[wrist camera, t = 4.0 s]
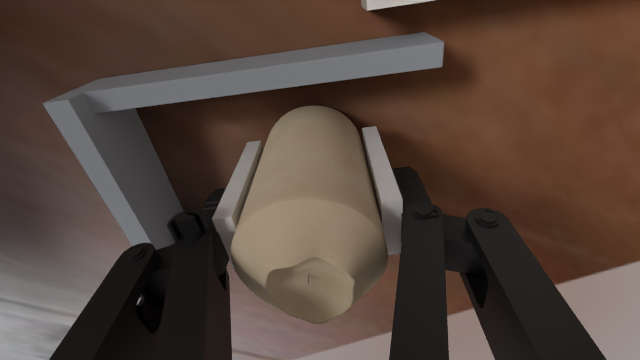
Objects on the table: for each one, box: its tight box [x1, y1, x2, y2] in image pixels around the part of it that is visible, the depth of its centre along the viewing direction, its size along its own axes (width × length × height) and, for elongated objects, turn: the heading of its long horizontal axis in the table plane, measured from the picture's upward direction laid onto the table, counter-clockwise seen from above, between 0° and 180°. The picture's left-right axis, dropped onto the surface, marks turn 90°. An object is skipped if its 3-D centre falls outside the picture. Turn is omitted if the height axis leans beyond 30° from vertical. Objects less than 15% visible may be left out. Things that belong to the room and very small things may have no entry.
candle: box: [231, 105, 388, 324], centre depth 14 cm, size 6×6×10 cm
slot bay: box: [42, 32, 444, 250], centre depth 17 cm, size 17×11×4 cm, turn 98°
